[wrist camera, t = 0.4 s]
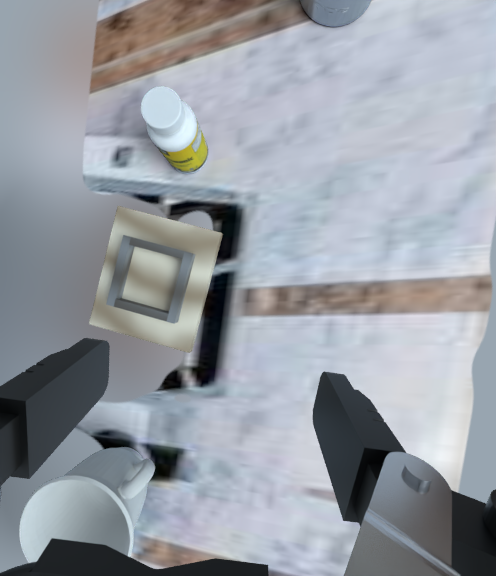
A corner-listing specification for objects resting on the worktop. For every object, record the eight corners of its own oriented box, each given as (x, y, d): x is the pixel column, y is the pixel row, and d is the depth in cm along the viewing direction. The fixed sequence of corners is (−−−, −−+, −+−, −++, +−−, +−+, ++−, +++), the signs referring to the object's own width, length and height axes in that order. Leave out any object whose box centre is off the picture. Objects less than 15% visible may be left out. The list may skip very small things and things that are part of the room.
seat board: (122, 208, 36) (111, 202, 33) (222, 234, 35) (219, 230, 32) (94, 322, 37) (80, 325, 34) (192, 350, 36) (186, 356, 33)
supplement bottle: (164, 169, 35) (125, 126, 26) (175, 128, 35) (141, 70, 25) (202, 180, 35) (179, 141, 25) (214, 140, 35) (195, 85, 25)
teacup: (202, 463, 36) (178, 533, 26) (120, 526, 37) (67, 616, 27) (147, 393, 36) (102, 436, 26) (66, 457, 37) (-6, 522, 27)
